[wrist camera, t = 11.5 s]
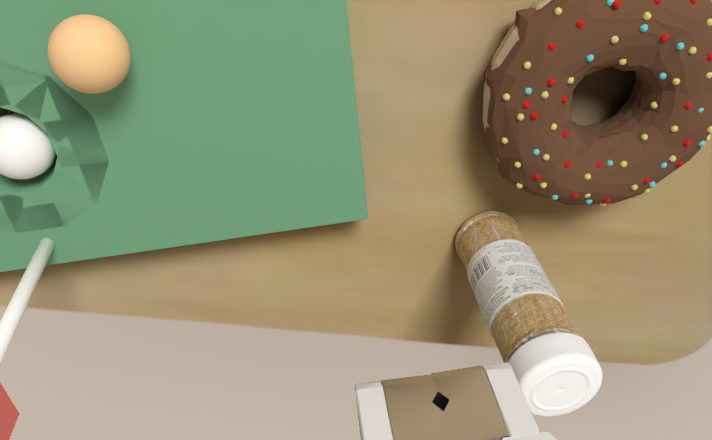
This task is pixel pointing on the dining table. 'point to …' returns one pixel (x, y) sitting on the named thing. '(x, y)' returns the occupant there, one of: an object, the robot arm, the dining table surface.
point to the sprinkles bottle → (526, 316)
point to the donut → (632, 121)
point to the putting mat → (179, 133)
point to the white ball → (23, 147)
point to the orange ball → (89, 53)
